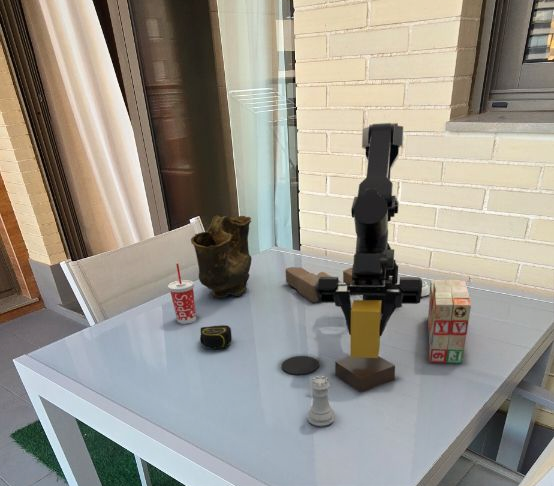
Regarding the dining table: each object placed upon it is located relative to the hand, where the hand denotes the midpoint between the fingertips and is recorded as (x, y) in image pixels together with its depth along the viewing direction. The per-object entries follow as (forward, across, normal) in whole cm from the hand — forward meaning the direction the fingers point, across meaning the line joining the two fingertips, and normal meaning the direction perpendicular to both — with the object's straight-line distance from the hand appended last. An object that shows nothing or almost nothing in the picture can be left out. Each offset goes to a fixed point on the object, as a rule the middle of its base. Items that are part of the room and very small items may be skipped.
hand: (365, 334), depth 96 cm
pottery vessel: (-25, -40, +39) cm, 61 cm away
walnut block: (+6, 0, +8) cm, 10 cm away
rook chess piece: (+17, -6, -3) cm, 18 cm away
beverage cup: (-12, -45, +26) cm, 53 cm away
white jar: (-25, +10, +39) cm, 47 cm away
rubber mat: (+3, -13, +10) cm, 17 cm away
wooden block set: (-28, -13, +42) cm, 52 cm away
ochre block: (+2, 0, +4) cm, 4 cm away
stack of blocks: (-6, +15, +20) cm, 26 cm away
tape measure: (-3, -34, +16) cm, 38 cm away
